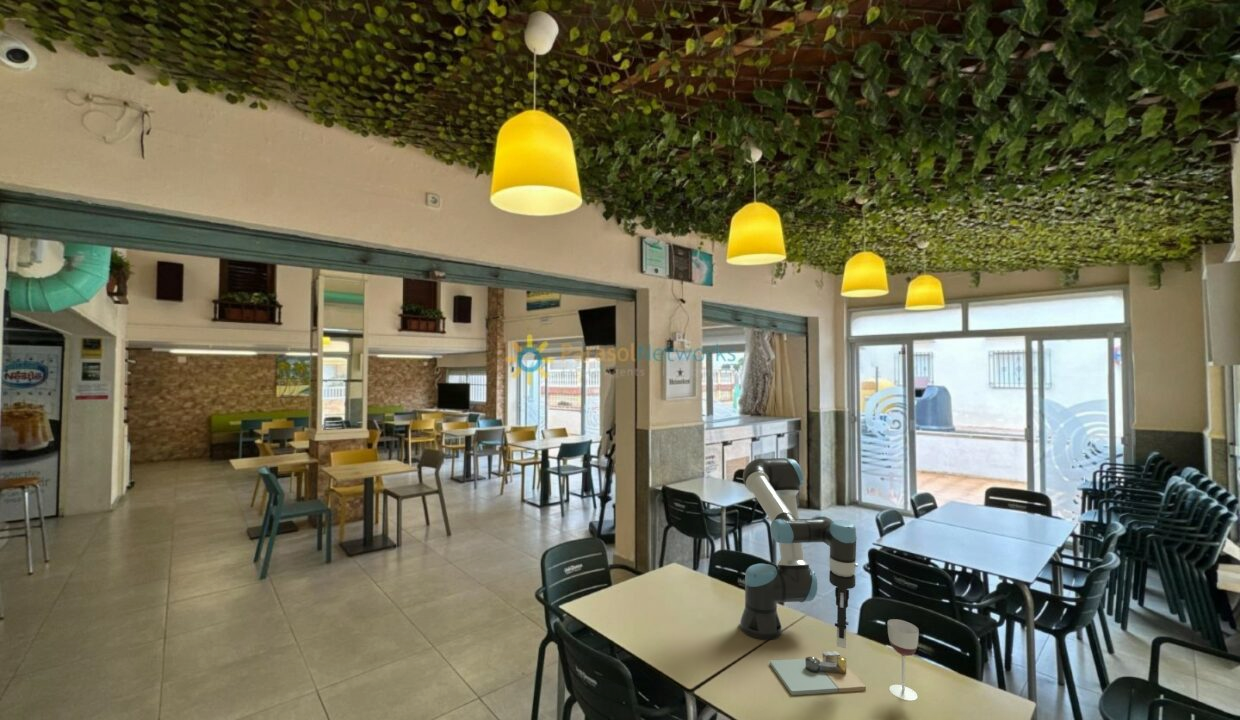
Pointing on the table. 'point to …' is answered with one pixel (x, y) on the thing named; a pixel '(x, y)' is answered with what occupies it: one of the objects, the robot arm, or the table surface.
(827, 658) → the block
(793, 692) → the door board
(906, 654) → the wineglass
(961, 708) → the table surface
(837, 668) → the swing bar
